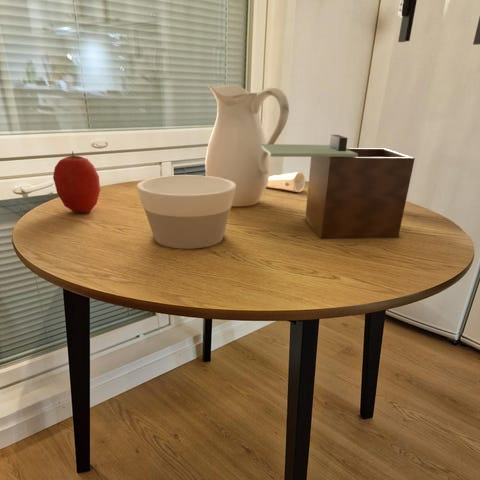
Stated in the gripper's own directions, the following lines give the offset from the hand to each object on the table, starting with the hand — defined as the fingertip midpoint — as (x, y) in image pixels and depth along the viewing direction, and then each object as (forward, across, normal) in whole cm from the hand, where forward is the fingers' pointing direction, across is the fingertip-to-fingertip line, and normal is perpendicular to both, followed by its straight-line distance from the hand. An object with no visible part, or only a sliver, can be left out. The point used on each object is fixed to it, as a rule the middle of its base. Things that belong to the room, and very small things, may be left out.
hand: (441, 43), depth 72 cm
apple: (+35, +70, -25) cm, 82 cm away
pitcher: (+35, +29, -31) cm, 55 cm away
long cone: (+35, +18, -52) cm, 65 cm away
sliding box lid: (+19, +20, -9) cm, 28 cm away
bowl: (+35, +44, -4) cm, 56 cm away
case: (+35, +8, -9) cm, 37 cm away
